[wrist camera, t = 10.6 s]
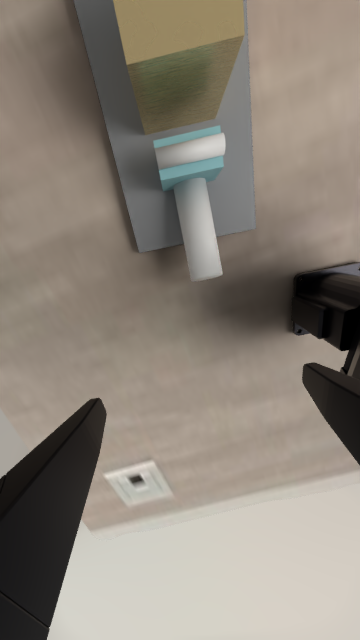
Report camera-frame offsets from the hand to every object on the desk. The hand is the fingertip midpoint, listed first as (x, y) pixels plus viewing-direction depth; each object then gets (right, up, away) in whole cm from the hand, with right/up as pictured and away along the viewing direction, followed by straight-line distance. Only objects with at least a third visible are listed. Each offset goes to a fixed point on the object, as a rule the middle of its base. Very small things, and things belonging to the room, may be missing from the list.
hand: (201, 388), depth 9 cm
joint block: (-1, +19, +4) cm, 19 cm away
